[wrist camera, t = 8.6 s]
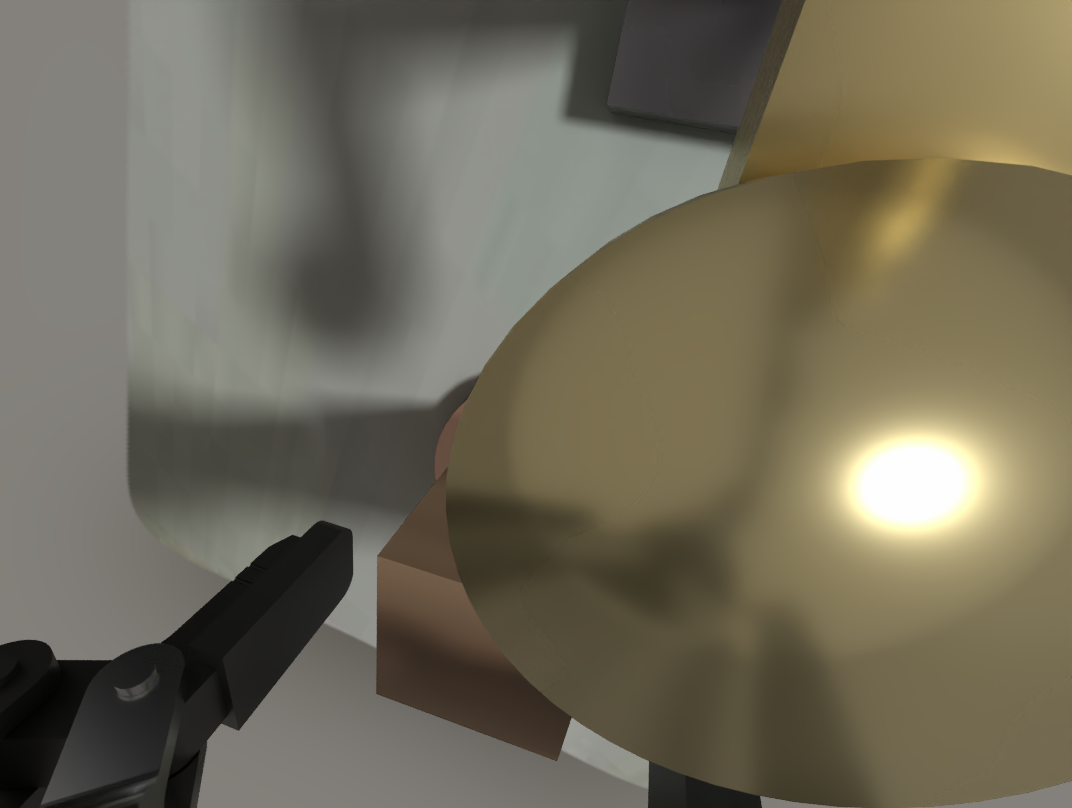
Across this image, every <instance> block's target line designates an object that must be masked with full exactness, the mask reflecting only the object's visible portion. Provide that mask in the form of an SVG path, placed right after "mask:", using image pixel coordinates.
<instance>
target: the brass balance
mask: <svg viewBox="0 0 1072 808" xmlns="http://www.w3.org/2000/svg"><path fill="white" fill-rule="evenodd" d="M607 106H608V108H609V110H610V111H611V113H614V114H620V115H626V116H631V117H637V118H643V119H649V120H655V121H661V122H667V123H673V124H679V125H685V126H691V127H697V128H703V129H709V130H715V131H721V132H727V133H733V134H736V137H735V140H734V143H733V146H732V149H731V152H730V155H729V158H728V160H727V163H726V166H725V169H724V172H723V175H722V178H721V181H720V184H719V187H718V190H717V191H713V192H710V193H707V194H703V195H700V196H698V197H695V198H693V199H691V200H688V201H686V202H684V203H682V204H679V205H677V206H675V207H672V208H670V209H668V210H665V211H663V212H661V213H659V214H656V215H654V216H652V217H650V218H648V219H647V220H645V221H643V222H641V223H640V224H638V225H636V226H635V227H633V228H631V229H630V230H628V231H626V232H625V233H623V234H621V235H620V236H618V237H616V238H615V239H613V240H611V241H609V242H608V243H607V244H605V245H604V246H603V247H602V248H600V249H599V250H598V251H596V252H595V253H594V254H593V255H591V256H590V257H589V258H588V259H586V260H585V261H584V262H582V263H581V264H580V265H579V266H577V267H576V268H575V269H573V270H572V271H571V272H570V273H569V274H567V275H566V276H565V277H564V278H563V279H561V280H560V281H559V282H558V283H557V284H555V285H554V286H553V287H552V288H551V289H550V290H549V291H548V292H547V293H546V294H545V295H544V296H543V297H542V298H541V299H540V300H539V301H538V302H537V303H536V304H535V305H534V306H533V307H532V308H531V309H530V310H529V311H528V312H527V313H526V314H525V315H524V316H523V317H522V318H521V319H520V320H519V321H518V322H517V323H516V324H515V325H514V326H513V328H512V329H511V331H510V332H509V333H508V335H507V336H506V337H505V339H504V340H503V342H502V343H501V344H500V346H499V347H498V348H497V350H496V351H495V352H494V354H493V355H492V357H491V358H490V359H489V361H488V362H487V363H486V365H485V367H484V369H483V371H482V373H481V374H480V376H479V378H478V380H477V382H476V384H475V386H474V388H473V390H472V392H471V393H470V395H469V397H468V399H467V401H466V404H465V406H464V409H463V412H462V415H461V418H460V421H459V424H458V427H457V430H456V432H455V435H454V438H453V443H452V449H451V454H450V460H449V465H448V471H447V483H446V516H447V524H448V532H449V540H450V545H451V549H452V553H453V556H454V560H455V564H456V567H457V571H458V575H459V577H460V579H461V582H462V584H463V586H464V589H465V591H466V594H467V596H468V598H469V601H470V603H471V605H472V607H473V608H474V610H475V612H476V614H477V615H478V617H479V619H480V621H481V622H482V624H483V626H484V627H485V629H486V631H487V632H488V634H489V635H490V636H491V638H492V639H493V640H494V642H495V643H496V644H497V646H498V647H499V649H500V650H501V651H502V653H503V654H504V655H505V657H506V658H507V659H508V660H509V661H510V662H511V663H512V664H513V665H514V666H515V668H516V669H517V670H518V671H519V672H520V673H521V674H522V675H523V676H524V677H525V678H526V679H527V681H528V682H530V683H531V684H532V685H533V686H534V687H535V688H536V689H537V690H539V691H540V692H541V693H542V694H543V695H544V696H545V697H546V698H548V699H549V700H550V701H551V702H552V703H553V704H555V705H556V706H557V707H559V708H560V709H561V710H563V711H564V712H565V713H567V714H568V715H570V716H571V717H572V718H574V719H575V720H576V721H578V722H579V723H580V724H582V725H584V726H585V727H587V728H589V729H590V730H592V731H593V732H595V733H597V734H598V735H600V736H602V737H603V738H605V739H607V740H608V741H610V742H612V743H614V744H616V745H618V746H619V747H621V748H623V749H625V750H627V751H629V752H631V753H633V754H635V755H637V756H639V757H641V758H643V759H646V760H648V761H651V762H653V763H655V764H658V765H660V766H663V767H665V768H668V769H670V770H672V771H675V772H677V773H680V774H683V775H686V776H689V777H692V778H695V779H698V780H701V781H704V782H708V783H711V784H714V785H717V786H721V787H725V788H729V789H733V790H737V791H741V792H745V793H749V794H753V795H758V796H765V797H770V798H775V799H781V800H786V801H792V802H799V803H809V804H818V805H828V806H837V807H861V808H910V807H934V806H943V805H953V804H962V803H971V802H980V801H985V800H991V799H996V798H1002V797H1007V796H1013V795H1018V794H1024V793H1029V792H1033V791H1036V790H1040V789H1044V788H1048V787H1051V786H1055V785H1059V784H1062V783H1066V782H1070V781H1072V0H628V1H627V6H626V11H625V16H624V21H623V26H622V31H621V36H620V41H619V46H618V51H617V56H616V61H615V66H614V71H613V76H612V80H611V85H610V90H609V95H608V100H607Z"/></svg>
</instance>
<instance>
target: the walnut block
mask: <svg viewBox="0 0 1072 808" xmlns="http://www.w3.org/2000/svg"><path fill="white" fill-rule="evenodd" d="M447 471H448V467H447V468H446V469H445V470H444V472H443V473H442V474H441V476H440V477H439V478H438V479H437V481H436V482H435V483H434V484H433V486H432V487H431V488H430V490H429V491H428V492H427V493H426V495H425V496H424V497H423V498H422V500H421V501H420V502H419V504H418V505H417V506H416V507H415V509H414V510H413V511H412V512H411V514H410V515H409V516H408V518H407V519H406V520H405V521H404V523H403V524H402V525H401V526H400V528H399V529H398V530H397V532H396V533H395V534H394V535H393V537H392V538H391V539H390V540H389V542H388V543H387V544H386V546H385V547H384V548H383V549H382V551H381V552H380V553H379V554H378V556H377V684H376V685H377V689H376V694H378V695H381V696H384V697H386V698H389V699H392V700H394V701H397V702H400V703H402V704H405V705H408V706H410V707H413V708H416V709H418V710H421V711H424V712H426V713H429V714H432V715H434V716H437V717H440V718H443V719H445V720H448V721H451V722H453V723H456V724H459V725H461V726H464V727H467V728H469V729H472V730H475V731H477V732H480V733H483V734H486V735H488V736H491V737H493V738H496V739H499V740H502V741H504V742H507V743H510V744H512V745H515V746H518V747H521V748H523V749H526V750H528V751H531V752H534V753H537V754H539V755H542V756H544V757H547V758H550V759H552V760H555V761H557V760H558V757H559V754H560V751H561V748H562V745H563V742H564V739H565V736H566V733H567V730H568V727H569V724H570V720H571V716H570V715H568V714H567V713H565V712H564V711H563V710H561V709H560V708H559V707H557V706H556V705H555V704H553V703H552V702H551V701H550V700H549V699H548V698H546V697H545V696H544V695H543V694H542V693H541V692H540V691H539V690H537V689H536V688H535V687H534V686H533V685H532V684H531V683H530V682H528V681H527V679H526V678H525V677H524V676H523V675H522V674H521V673H520V672H519V671H518V670H517V669H516V668H515V666H514V665H513V664H512V663H511V662H510V661H509V660H508V659H507V658H506V657H505V655H504V654H503V653H502V651H501V650H500V649H499V647H498V646H497V644H496V643H495V642H494V640H493V639H492V638H491V636H490V635H489V634H488V632H487V631H486V629H485V627H484V626H483V624H482V622H481V621H480V619H479V617H478V615H477V614H476V612H475V610H474V608H473V607H472V605H471V603H470V601H469V598H468V596H467V594H466V591H465V589H464V586H463V584H462V582H461V579H460V577H459V575H458V571H457V567H456V564H455V560H454V556H453V553H452V549H451V545H450V540H449V532H448V524H447V516H446V483H447Z"/></svg>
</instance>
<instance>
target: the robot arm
mask: <svg viewBox="0 0 1072 808" xmlns="http://www.w3.org/2000/svg"><path fill="white" fill-rule="evenodd" d="M352 577H353V536H352V531H351V530H350V529H347V528H344V527H341V526H338V525H335V524H332V523H329V522H326V521H319V522H317V523H316V524H314V525H313V526H312V527H311V528H310V529H309V530H308V531H307V532H306V533H305V534H304V535H303V536H302V537H298V536H295V535H291V536H289V537H287V538H285V539H283V540H281V541H279V542H277V543H275V544H273V545H272V546H270V547H268V548H267V549H266V550H265V551H264V552H263V553H262V554H261V555H259V556H258V557H257V558H256V559H255V560H254V561H253V562H252V563H251V565H250V566H249V567H246V568H245V569H244V570H243V571H242V572H241V573H240V574H238V575H237V576H236V578H235V580H234V581H231V582H230V583H229V584H227V585H226V586H225V587H224V588H223V589H222V590H221V591H220V592H219V593H217V595H215V596H214V597H213V598H212V599H211V600H210V601H209V602H208V603H206V604H205V606H203V607H202V608H201V609H200V610H199V611H198V612H196V613H195V614H194V615H193V616H192V617H191V618H190V619H189V620H188V621H186V622H185V623H184V624H183V625H182V626H181V627H180V628H179V629H178V630H177V631H175V633H173V634H172V635H171V636H170V637H168V638H167V639H166V640H164V641H163V642H161V643H155V644H148V645H144V646H140V647H137V648H134V649H132V650H130V651H128V652H125V653H123V654H122V655H120V656H119V657H117V658H115V659H114V660H102V661H101V660H56V658H55V656H54V654H53V652H52V650H51V648H50V646H49V645H47V644H46V643H44V642H42V641H37V640H21V641H16V642H11V643H7V644H4V645H0V808H197V804H198V798H199V792H200V786H201V780H202V774H203V767H204V762H205V756H206V750H207V740H208V739H209V737H210V736H211V735H212V734H213V733H214V731H215V730H216V729H217V727H218V726H219V725H220V724H224V725H227V726H229V727H231V728H234V729H236V730H238V731H239V730H240V728H241V727H242V726H243V724H244V723H245V722H246V721H247V720H248V718H249V717H250V716H251V714H252V713H253V712H254V711H255V709H256V708H257V707H258V705H259V704H260V703H261V702H262V700H263V699H264V698H265V696H266V695H267V694H268V693H269V691H270V690H271V689H272V688H273V686H274V685H275V684H276V683H277V681H278V680H279V679H280V677H281V676H282V675H283V674H284V672H285V671H286V670H287V669H288V667H289V666H290V665H291V663H292V662H293V661H294V659H295V658H296V657H297V656H298V654H299V653H300V652H301V651H302V649H303V648H304V647H305V646H306V644H307V643H308V642H309V640H310V639H311V638H312V637H313V635H314V634H315V633H316V632H317V630H318V629H319V628H320V626H321V625H322V624H323V623H324V621H325V620H326V619H327V618H328V616H329V615H330V614H331V612H332V611H333V610H334V609H335V607H336V606H337V605H338V604H339V602H340V601H341V600H342V598H343V597H344V595H345V594H346V592H347V590H348V588H349V586H350V583H351V580H352ZM648 794H649V795H648V808H762V806H761V799H760V796H758V795H753V794H749V793H745V792H741V791H737V790H733V789H729V788H725V787H721V786H717V785H714V784H711V783H708V782H704V781H701V780H698V779H695V778H692V777H689V776H686V775H683V774H680V773H677V772H675V771H672V770H670V769H668V768H665V767H663V766H660V765H658V764H655V763H653V762H651V761H649V792H648Z"/></svg>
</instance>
